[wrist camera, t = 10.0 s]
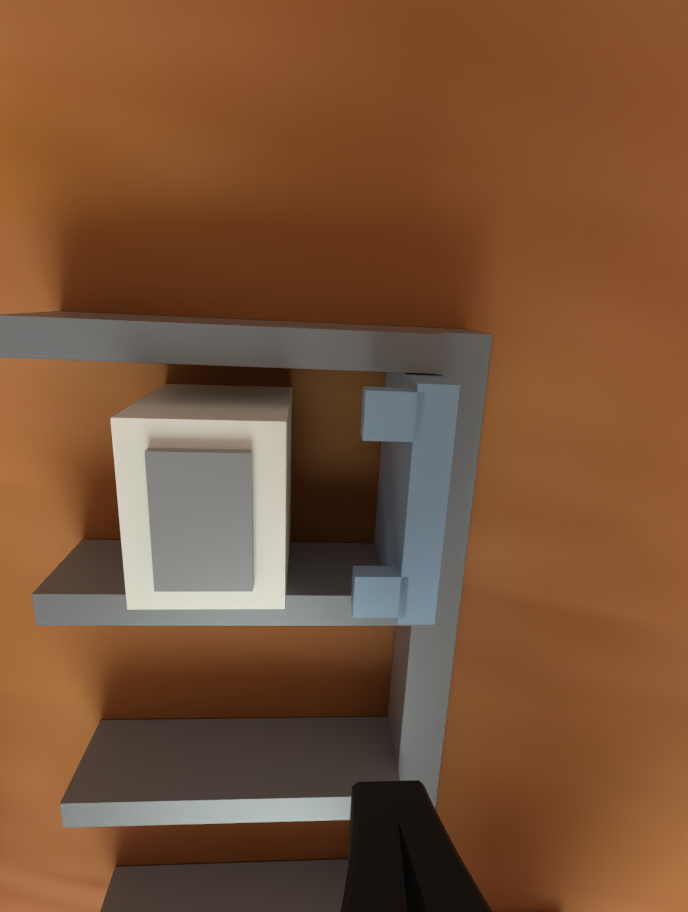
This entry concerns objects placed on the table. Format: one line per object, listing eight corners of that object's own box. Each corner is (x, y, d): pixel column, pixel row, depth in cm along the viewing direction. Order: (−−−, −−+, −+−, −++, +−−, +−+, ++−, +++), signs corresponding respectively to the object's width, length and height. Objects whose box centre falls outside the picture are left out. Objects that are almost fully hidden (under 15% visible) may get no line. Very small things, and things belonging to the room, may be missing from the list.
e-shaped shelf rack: (408, 873, 24) (433, 1020, 19) (117, 884, 23) (66, 1041, 18) (466, 329, 17) (529, 341, 12) (59, 311, 16) (-46, 317, 11)
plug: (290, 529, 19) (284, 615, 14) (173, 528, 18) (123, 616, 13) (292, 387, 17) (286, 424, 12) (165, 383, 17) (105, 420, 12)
